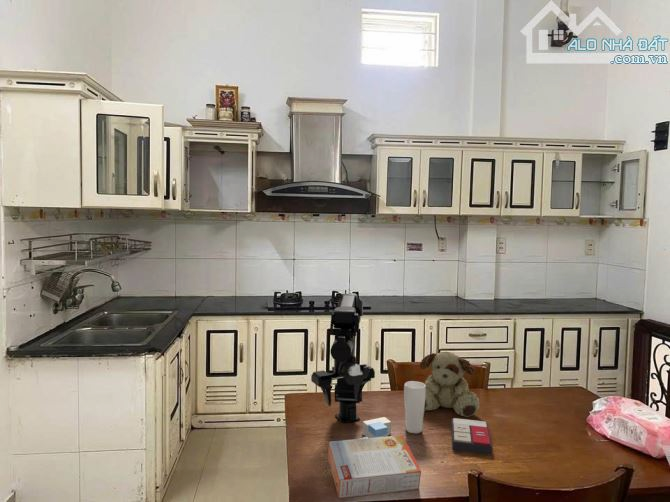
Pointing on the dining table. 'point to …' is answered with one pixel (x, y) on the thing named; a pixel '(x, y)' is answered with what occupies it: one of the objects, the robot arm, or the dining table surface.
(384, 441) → the cracker box
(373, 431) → the plug
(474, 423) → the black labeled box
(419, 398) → the drinking glass
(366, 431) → the plug
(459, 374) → the dog
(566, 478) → the dining table surface
